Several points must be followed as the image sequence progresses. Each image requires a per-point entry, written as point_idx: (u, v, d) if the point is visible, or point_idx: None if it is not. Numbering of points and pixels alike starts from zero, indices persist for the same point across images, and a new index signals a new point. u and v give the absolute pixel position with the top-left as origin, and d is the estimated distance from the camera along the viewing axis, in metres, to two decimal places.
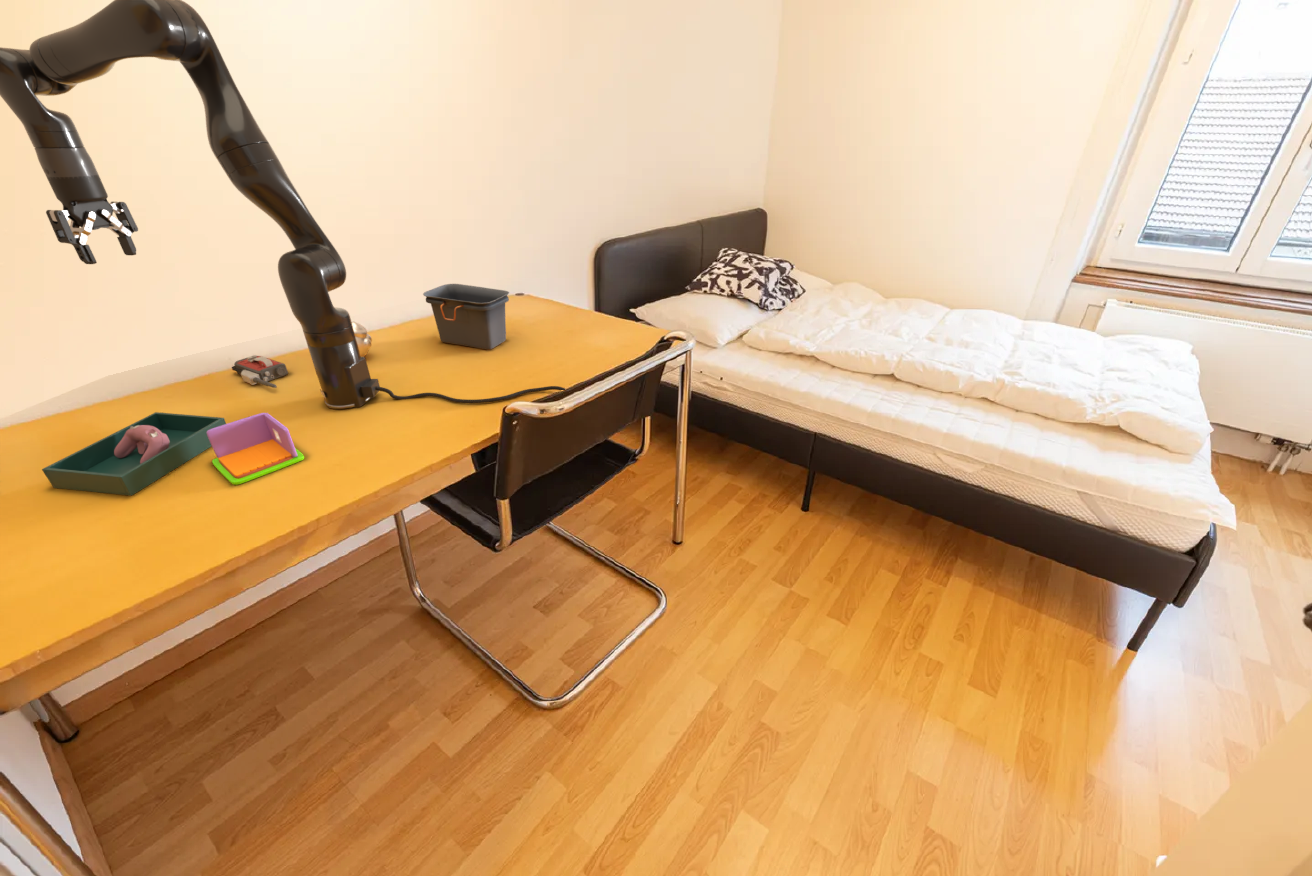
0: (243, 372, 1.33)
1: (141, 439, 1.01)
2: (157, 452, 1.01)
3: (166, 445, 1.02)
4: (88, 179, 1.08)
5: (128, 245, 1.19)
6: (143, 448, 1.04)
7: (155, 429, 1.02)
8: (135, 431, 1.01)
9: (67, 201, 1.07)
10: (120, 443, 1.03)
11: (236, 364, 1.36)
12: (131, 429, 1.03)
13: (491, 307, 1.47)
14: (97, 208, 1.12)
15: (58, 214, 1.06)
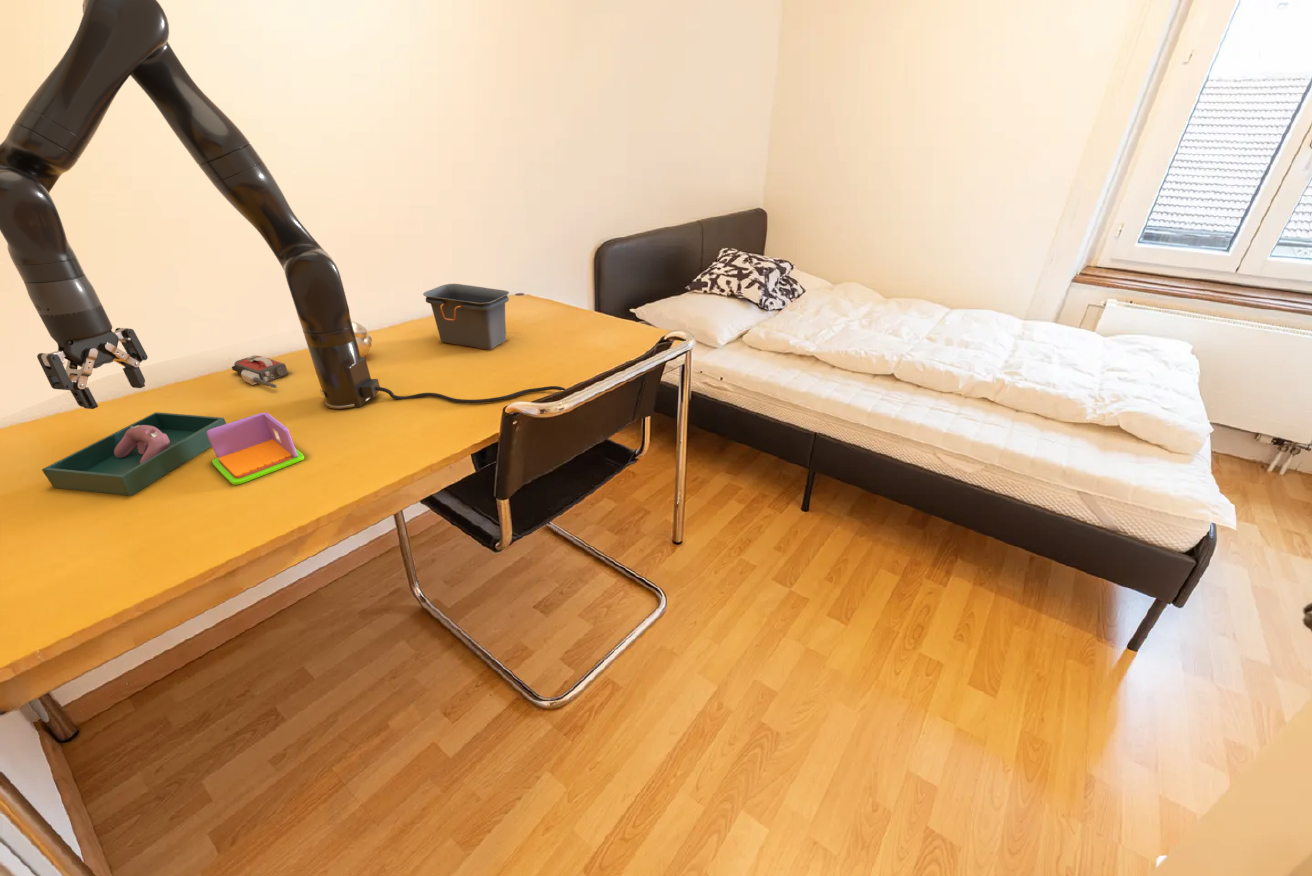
0: (243, 372, 1.33)
1: (141, 439, 1.01)
2: (157, 452, 1.01)
3: (166, 445, 1.02)
4: (89, 313, 0.89)
5: (136, 377, 1.00)
6: (143, 448, 1.04)
7: (155, 429, 1.02)
8: (135, 431, 1.01)
9: (63, 341, 0.89)
10: (120, 443, 1.03)
11: (236, 364, 1.36)
12: (131, 429, 1.03)
13: (491, 307, 1.47)
14: (99, 342, 0.93)
15: (52, 359, 0.87)
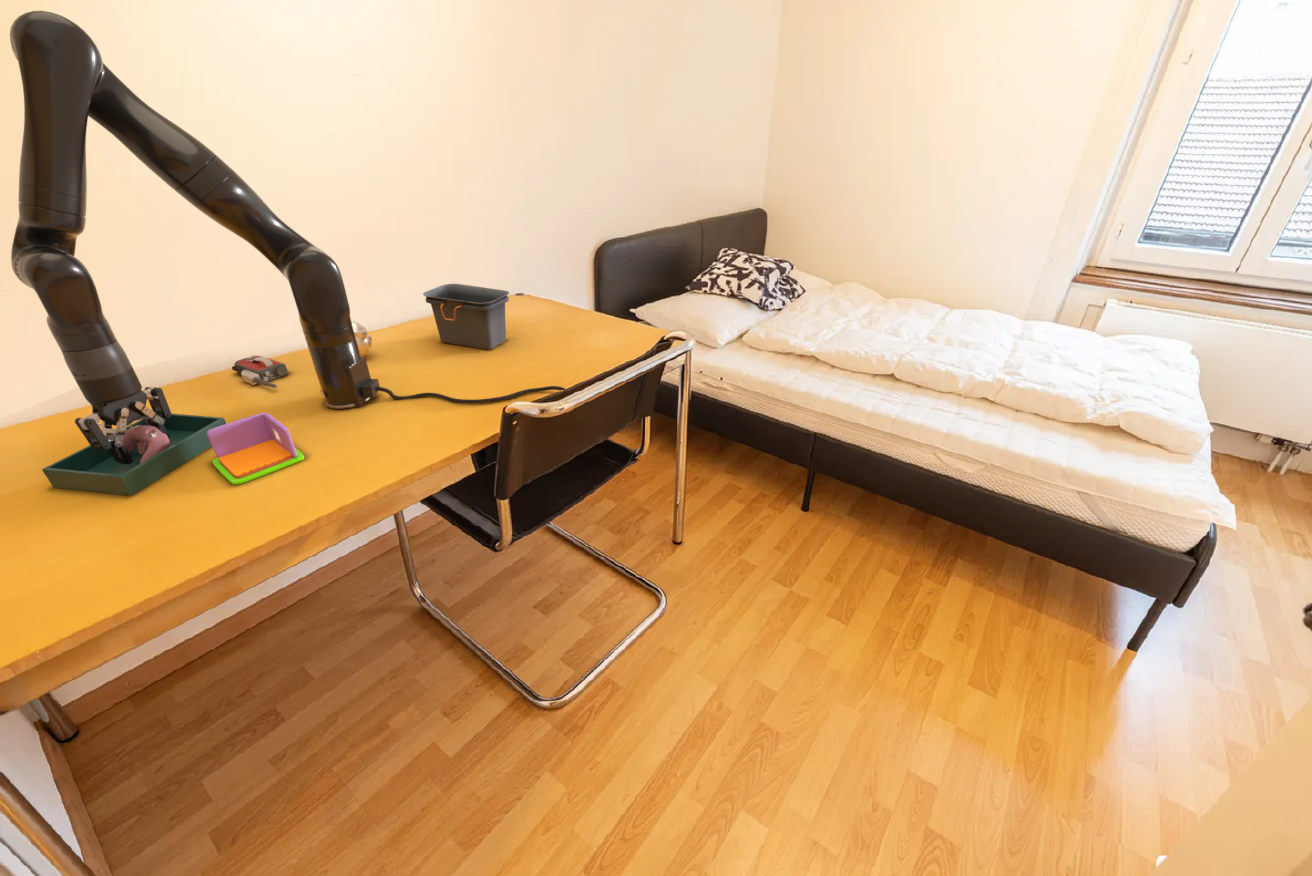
0: (243, 372, 1.33)
1: (141, 439, 1.01)
2: (157, 452, 1.01)
3: (166, 445, 1.02)
4: (121, 377, 0.95)
5: None
6: (143, 448, 1.04)
7: (155, 429, 1.02)
8: (135, 431, 1.01)
9: (97, 403, 0.94)
10: None
11: (236, 364, 1.36)
12: (131, 429, 1.03)
13: (491, 307, 1.47)
14: (130, 401, 0.99)
15: (89, 424, 0.93)
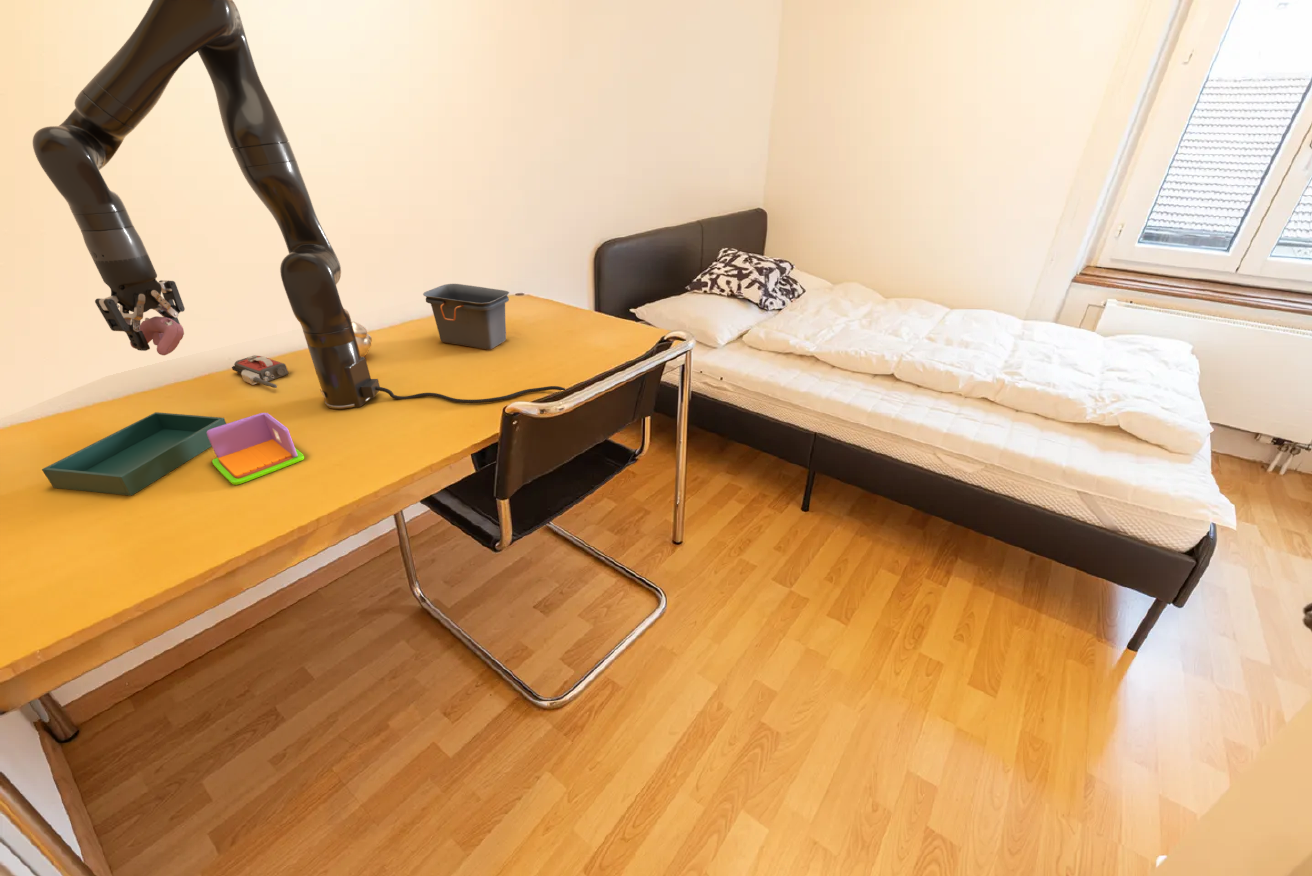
0: (243, 372, 1.33)
1: (157, 328, 1.06)
2: (173, 340, 1.05)
3: (181, 334, 1.06)
4: (138, 260, 0.99)
5: None
6: (158, 339, 1.08)
7: (170, 319, 1.07)
8: (151, 320, 1.06)
9: (116, 285, 0.98)
10: None
11: (236, 364, 1.36)
12: (146, 320, 1.07)
13: (491, 307, 1.47)
14: (146, 289, 1.03)
15: (109, 304, 0.97)
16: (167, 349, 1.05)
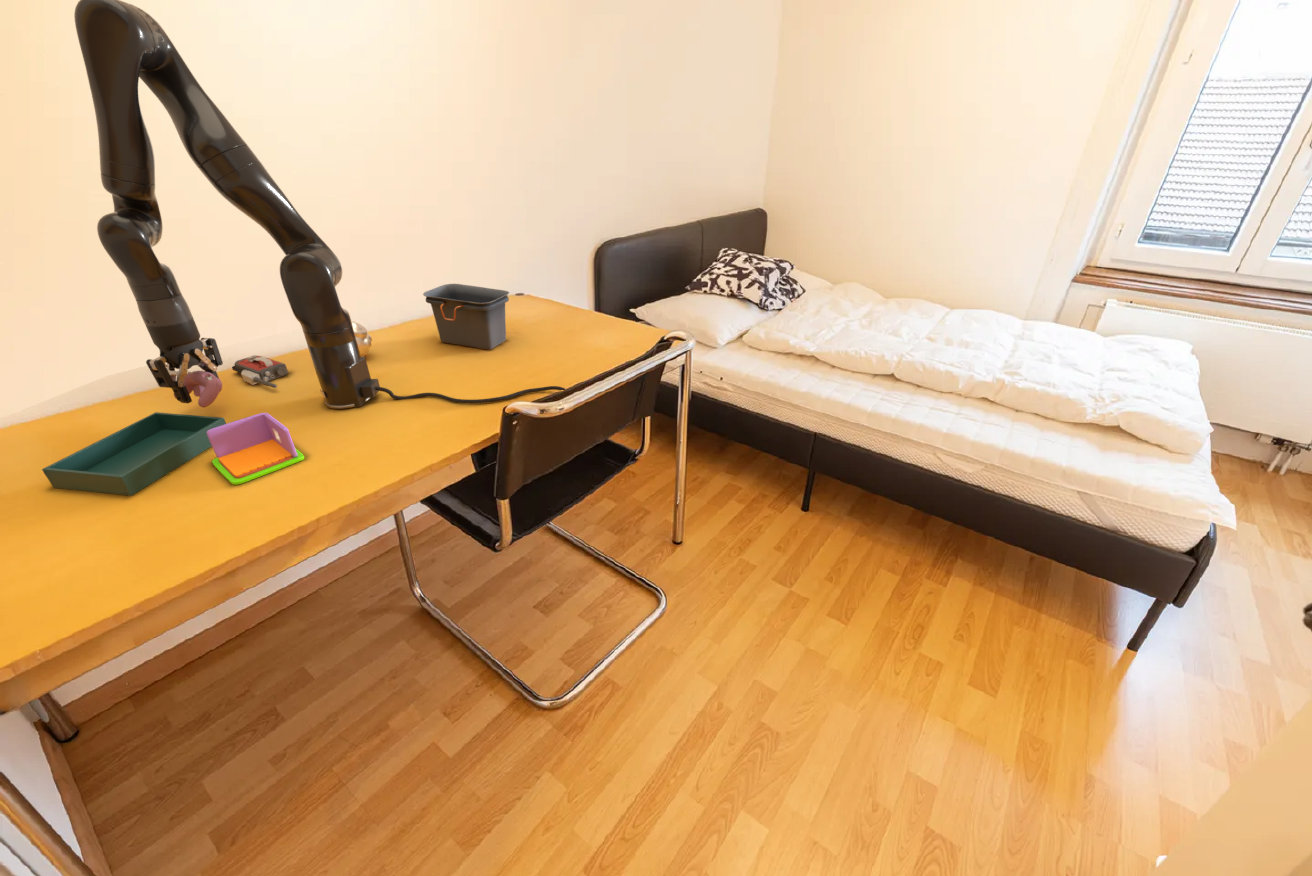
0: (243, 372, 1.33)
1: (198, 382, 1.16)
2: (212, 393, 1.16)
3: (220, 388, 1.17)
4: (185, 325, 1.10)
5: None
6: (199, 391, 1.19)
7: (210, 374, 1.17)
8: (193, 375, 1.16)
9: (164, 347, 1.09)
10: None
11: (236, 364, 1.36)
12: (189, 374, 1.18)
13: (491, 307, 1.47)
14: (190, 348, 1.14)
15: (158, 364, 1.08)
16: (207, 402, 1.15)
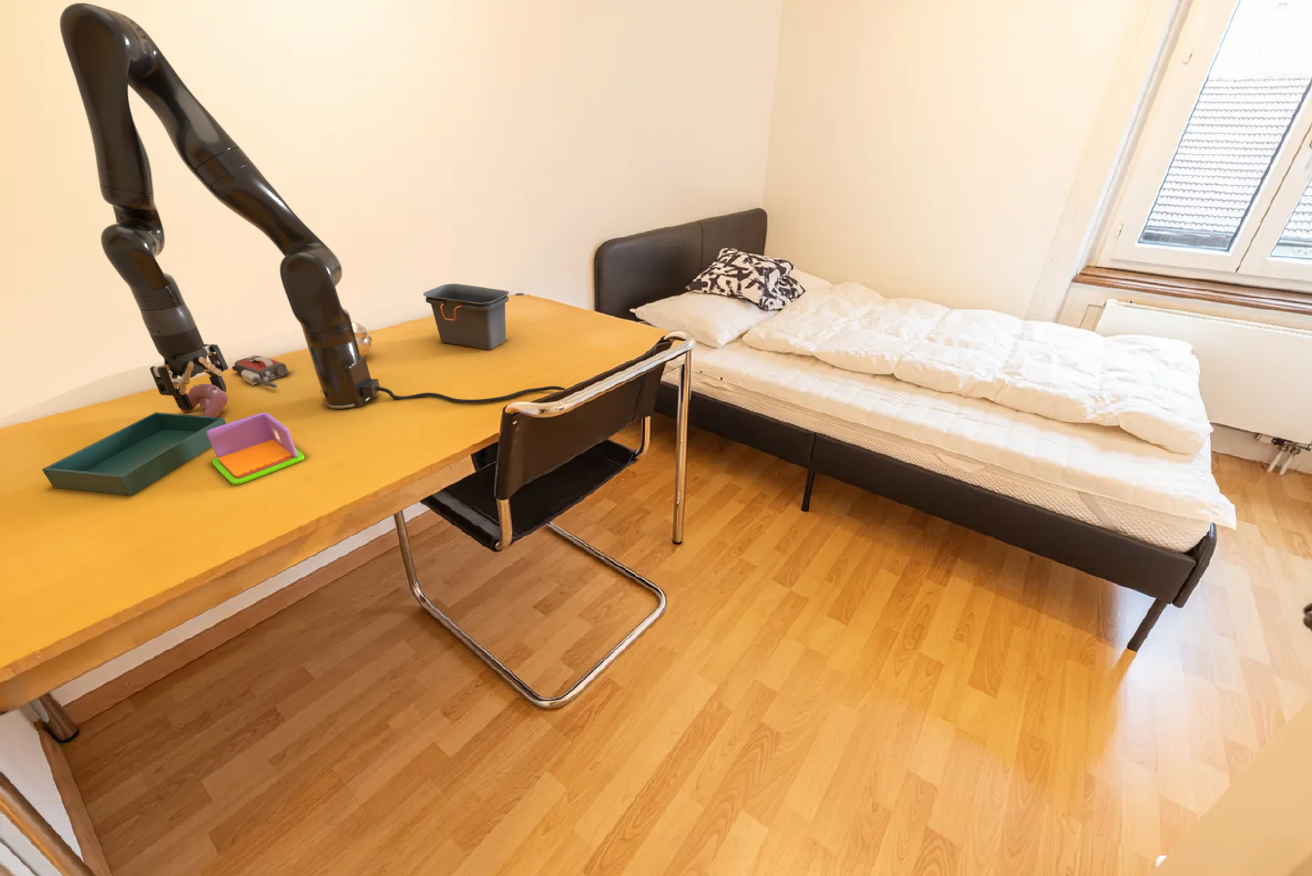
0: (243, 372, 1.33)
1: (204, 395, 1.18)
2: (218, 406, 1.17)
3: (225, 401, 1.19)
4: (188, 333, 1.11)
5: (219, 384, 1.21)
6: (204, 404, 1.20)
7: (215, 387, 1.19)
8: (198, 388, 1.18)
9: (169, 356, 1.10)
10: None
11: (236, 364, 1.36)
12: (194, 387, 1.19)
13: (491, 307, 1.47)
14: (194, 356, 1.15)
15: (162, 371, 1.08)
16: (212, 415, 1.17)
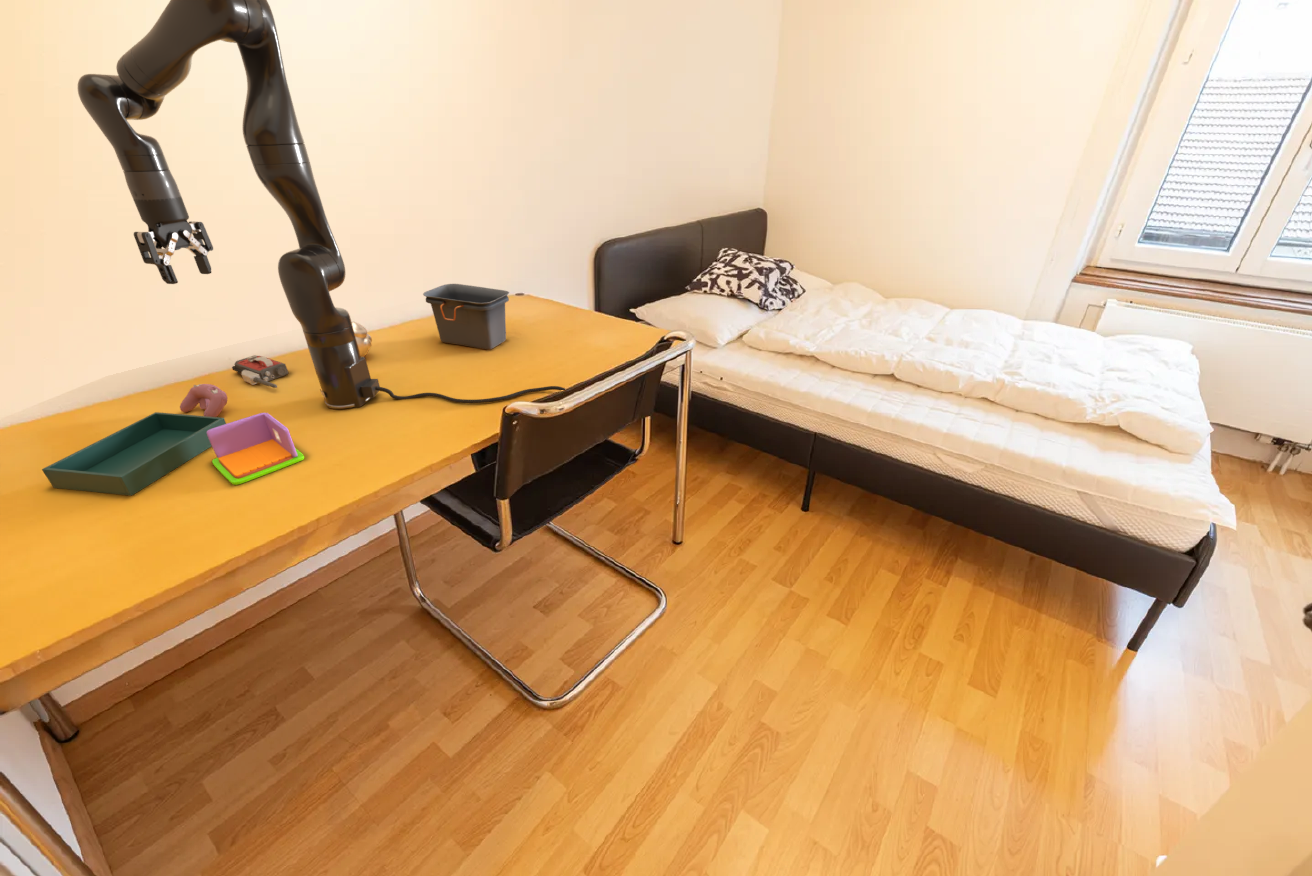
0: (243, 372, 1.33)
1: (204, 395, 1.18)
2: (218, 406, 1.17)
3: (225, 401, 1.19)
4: (173, 201, 1.10)
5: (204, 264, 1.20)
6: (204, 404, 1.20)
7: (215, 387, 1.19)
8: (198, 388, 1.18)
9: (153, 223, 1.09)
10: (185, 399, 1.19)
11: (236, 364, 1.36)
12: (194, 387, 1.19)
13: (491, 307, 1.47)
14: (178, 229, 1.14)
15: (146, 236, 1.07)
16: (212, 415, 1.17)
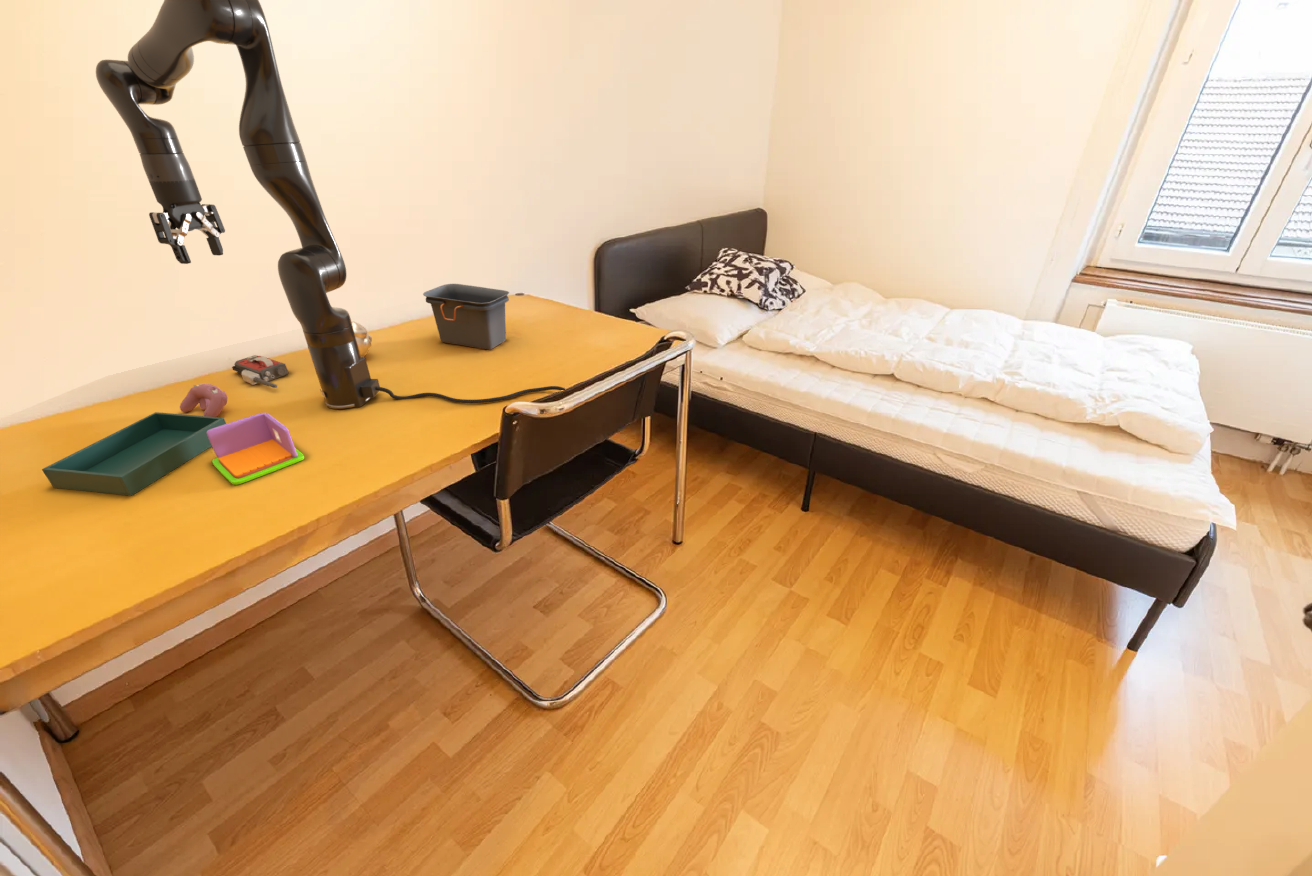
0: (243, 372, 1.33)
1: (204, 395, 1.18)
2: (218, 406, 1.17)
3: (225, 401, 1.19)
4: (187, 183, 1.14)
5: (216, 246, 1.25)
6: (204, 404, 1.20)
7: (215, 387, 1.19)
8: (198, 388, 1.18)
9: (167, 204, 1.13)
10: (185, 399, 1.19)
11: (236, 364, 1.36)
12: (194, 387, 1.19)
13: (491, 307, 1.47)
14: (192, 210, 1.18)
15: (160, 216, 1.12)
16: (212, 415, 1.17)
